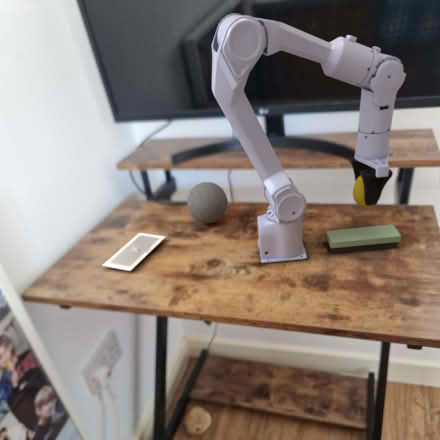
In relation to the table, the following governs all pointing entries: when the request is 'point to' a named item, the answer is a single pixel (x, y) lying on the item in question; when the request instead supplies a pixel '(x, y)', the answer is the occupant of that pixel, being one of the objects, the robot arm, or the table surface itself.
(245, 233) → the table surface
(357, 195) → the lemon
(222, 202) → the decorative ball
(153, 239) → the touchpad
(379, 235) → the green block
